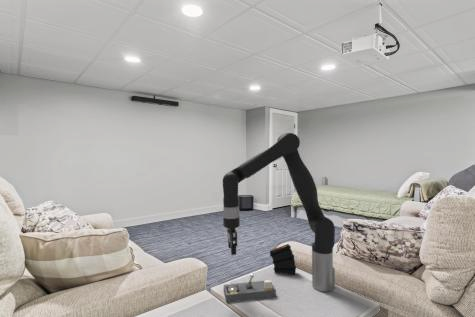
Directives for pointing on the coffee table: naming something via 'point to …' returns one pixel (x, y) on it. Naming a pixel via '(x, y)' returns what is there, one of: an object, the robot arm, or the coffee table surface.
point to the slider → (267, 284)
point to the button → (232, 289)
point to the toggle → (251, 278)
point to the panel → (249, 291)
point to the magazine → (283, 260)
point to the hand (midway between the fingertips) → (232, 251)
